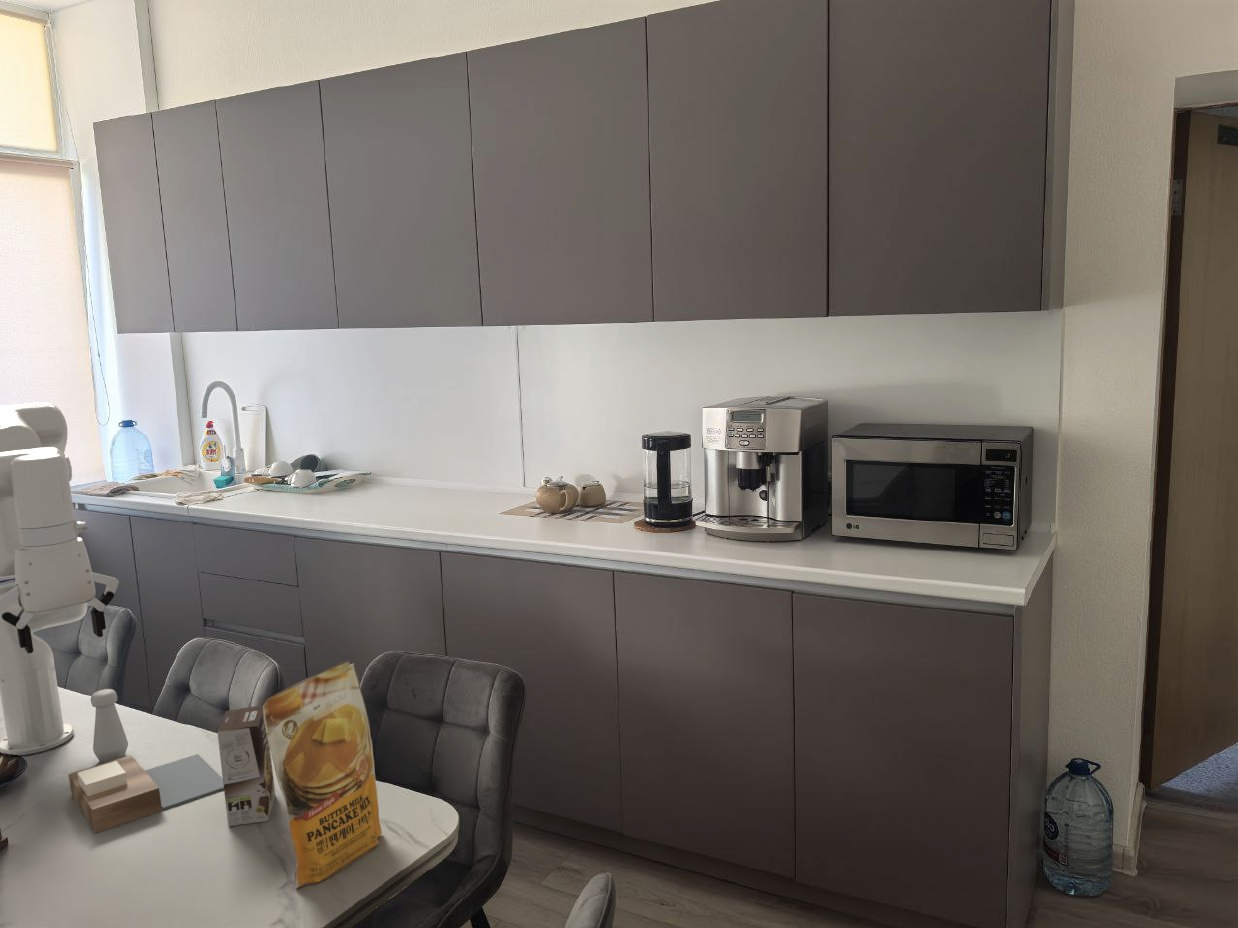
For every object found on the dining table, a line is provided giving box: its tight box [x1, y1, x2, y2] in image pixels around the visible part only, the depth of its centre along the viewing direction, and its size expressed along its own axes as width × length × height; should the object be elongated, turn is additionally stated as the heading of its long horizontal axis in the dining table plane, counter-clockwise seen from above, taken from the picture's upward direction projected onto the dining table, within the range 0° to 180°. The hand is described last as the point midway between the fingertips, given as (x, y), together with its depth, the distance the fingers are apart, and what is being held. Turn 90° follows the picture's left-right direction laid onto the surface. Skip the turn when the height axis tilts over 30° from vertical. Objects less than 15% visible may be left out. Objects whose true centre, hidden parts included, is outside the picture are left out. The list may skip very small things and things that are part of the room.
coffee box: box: [217, 705, 276, 827], centre depth 162 cm, size 9×6×16 cm
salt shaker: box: [90, 688, 129, 764], centre depth 184 cm, size 6×6×13 cm
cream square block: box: [77, 761, 127, 796], centre depth 166 cm, size 6×6×2 cm
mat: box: [144, 753, 224, 811], centre depth 174 cm, size 17×11×1 cm, turn 40°
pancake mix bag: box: [262, 660, 383, 889], centre depth 145 cm, size 7×19×28 cm, turn 147°
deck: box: [68, 754, 163, 834], centre depth 168 cm, size 17×10×4 cm, turn 40°
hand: (64, 642), depth 155 cm, fingers open, 9 cm apart
